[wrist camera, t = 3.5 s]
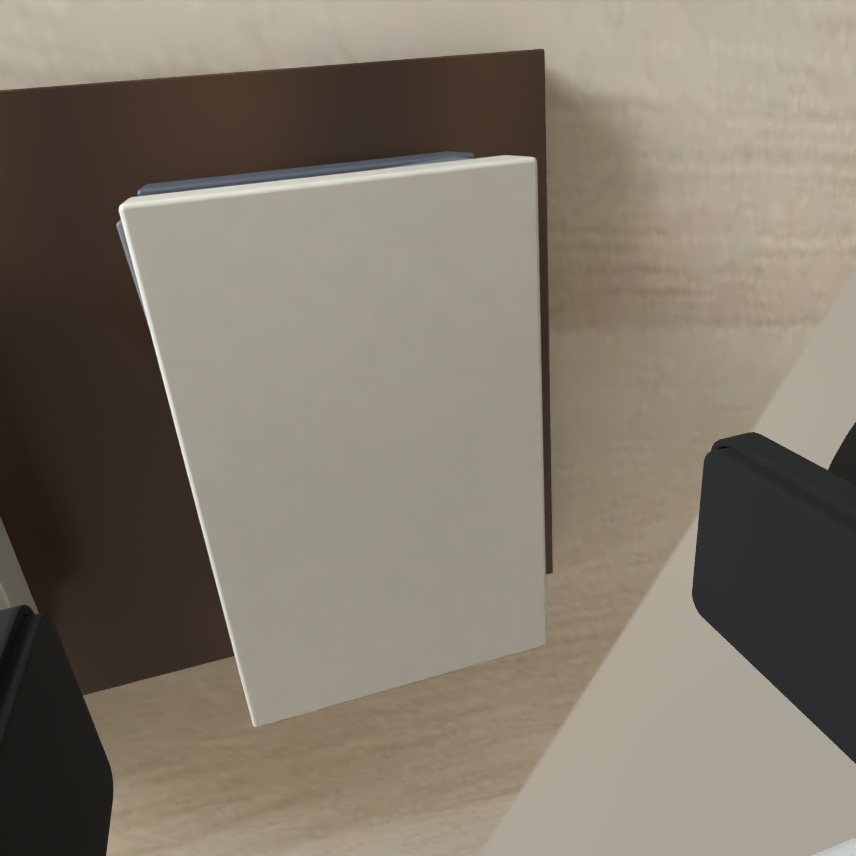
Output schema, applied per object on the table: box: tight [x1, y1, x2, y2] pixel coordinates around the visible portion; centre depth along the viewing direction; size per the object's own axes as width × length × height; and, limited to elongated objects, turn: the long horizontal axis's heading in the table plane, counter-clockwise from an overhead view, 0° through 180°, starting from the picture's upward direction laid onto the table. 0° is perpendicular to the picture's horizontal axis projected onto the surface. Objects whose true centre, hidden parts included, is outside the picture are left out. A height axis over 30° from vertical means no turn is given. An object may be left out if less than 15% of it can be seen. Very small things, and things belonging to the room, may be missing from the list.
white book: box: [119, 155, 547, 728], centre depth 14 cm, size 7×11×1 cm, turn 6°
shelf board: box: [0, 49, 553, 695], centre depth 17 cm, size 24×15×1 cm, turn 96°
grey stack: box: [117, 151, 475, 326], centre depth 16 cm, size 7×11×4 cm, turn 6°
